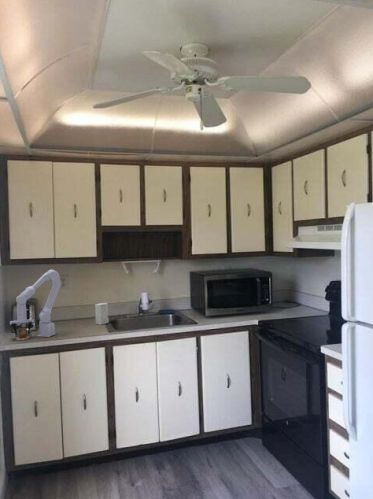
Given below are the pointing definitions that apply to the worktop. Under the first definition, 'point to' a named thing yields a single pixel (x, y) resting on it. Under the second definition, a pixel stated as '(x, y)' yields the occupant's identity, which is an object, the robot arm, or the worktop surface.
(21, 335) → the walnut cylinder
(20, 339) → the coaster
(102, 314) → the skincare box
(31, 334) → the low wall
